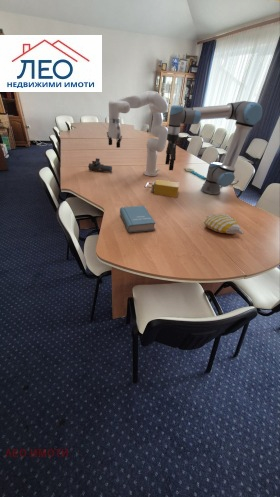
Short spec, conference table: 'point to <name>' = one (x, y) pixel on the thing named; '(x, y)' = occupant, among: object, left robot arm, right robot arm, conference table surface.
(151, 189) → the drawer
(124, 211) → the book
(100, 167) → the laser sight
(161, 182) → the cabinet
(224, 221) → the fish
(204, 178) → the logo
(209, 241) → the conference table surface
